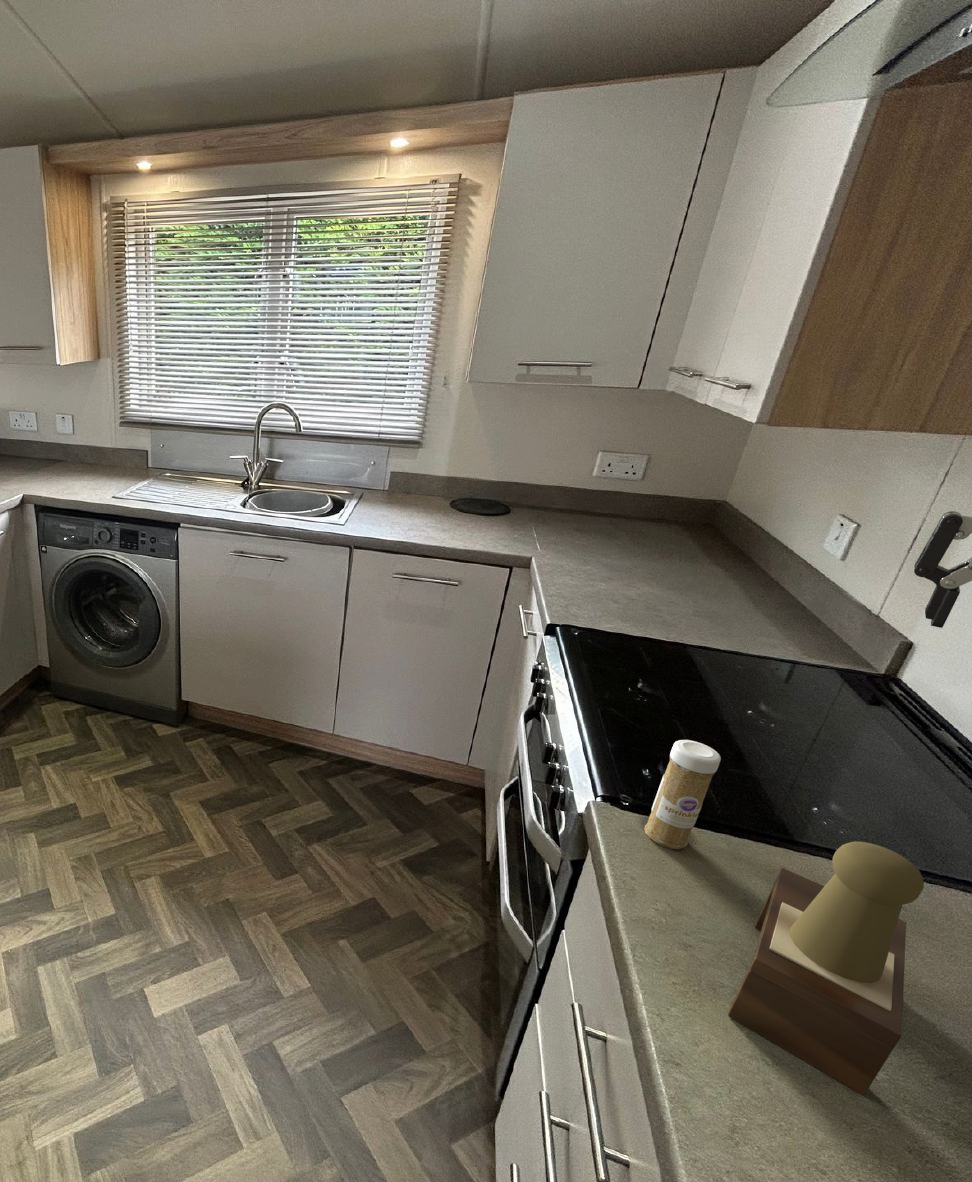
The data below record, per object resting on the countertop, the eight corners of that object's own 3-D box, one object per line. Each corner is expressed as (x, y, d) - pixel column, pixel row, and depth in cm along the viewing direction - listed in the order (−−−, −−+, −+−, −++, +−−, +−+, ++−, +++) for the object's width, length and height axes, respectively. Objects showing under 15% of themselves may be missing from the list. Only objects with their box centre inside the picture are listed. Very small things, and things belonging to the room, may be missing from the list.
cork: (781, 912, 61) (825, 821, 57) (868, 941, 58) (920, 847, 54) (798, 961, 56) (847, 865, 52) (893, 995, 53) (953, 896, 49)
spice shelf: (756, 920, 69) (782, 865, 66) (874, 977, 63) (907, 920, 60) (727, 1016, 59) (755, 957, 56) (863, 1096, 53) (903, 1034, 50)
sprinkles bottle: (659, 850, 78) (692, 760, 73) (635, 824, 82) (665, 737, 78) (696, 851, 78) (732, 761, 73) (670, 825, 82) (702, 738, 78)
